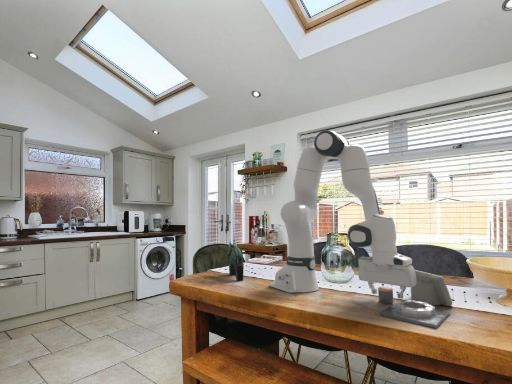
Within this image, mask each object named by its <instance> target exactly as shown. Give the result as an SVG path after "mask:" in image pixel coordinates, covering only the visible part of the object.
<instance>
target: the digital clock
mask: <svg viewBox="0 0 512 384" xmlns="http://www.w3.org/2000/svg"><path fill="white" fill-rule="evenodd" d="M415 273H416V279H417V284H416V285H415V286H414V287H412V288H411V287H410V295H411V296H410V297H411V299H412V300H414V301H419V302H425V303H428V304H430V305H432V306H437V305H443V306H447V307H452V305H453V299H452V297H451V294H450V292H449V289H448V286H447V283H446V281H445V278H444V277H443V276H441V275H437V274H433V273H429V272H425V271H421V270H417V269H415Z"/></svg>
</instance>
